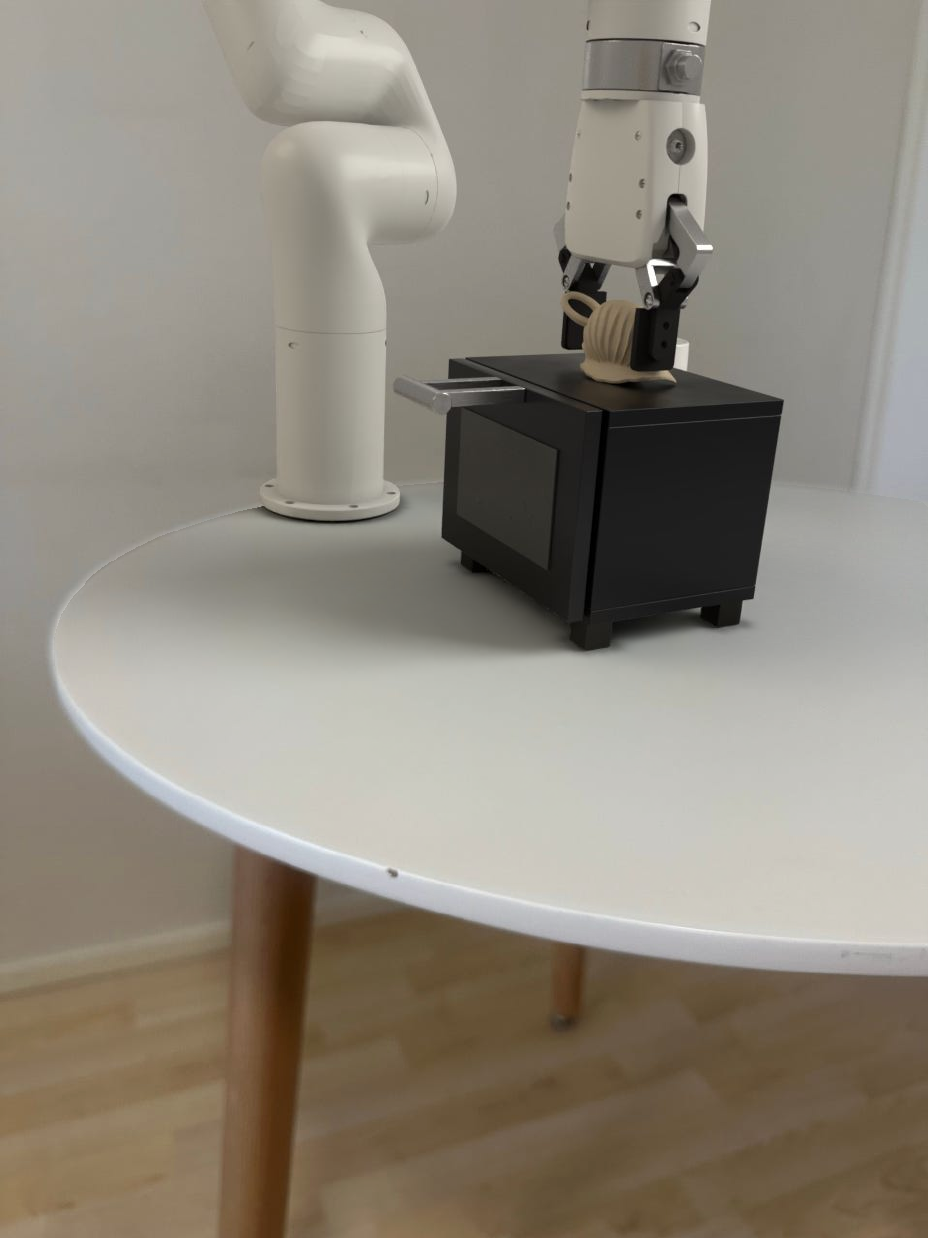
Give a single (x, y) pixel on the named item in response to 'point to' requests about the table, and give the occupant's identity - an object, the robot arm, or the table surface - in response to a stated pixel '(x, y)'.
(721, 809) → the table surface
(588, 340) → the decorative ornament
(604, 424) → the oven
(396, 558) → the table surface
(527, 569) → the oven door
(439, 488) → the table surface
